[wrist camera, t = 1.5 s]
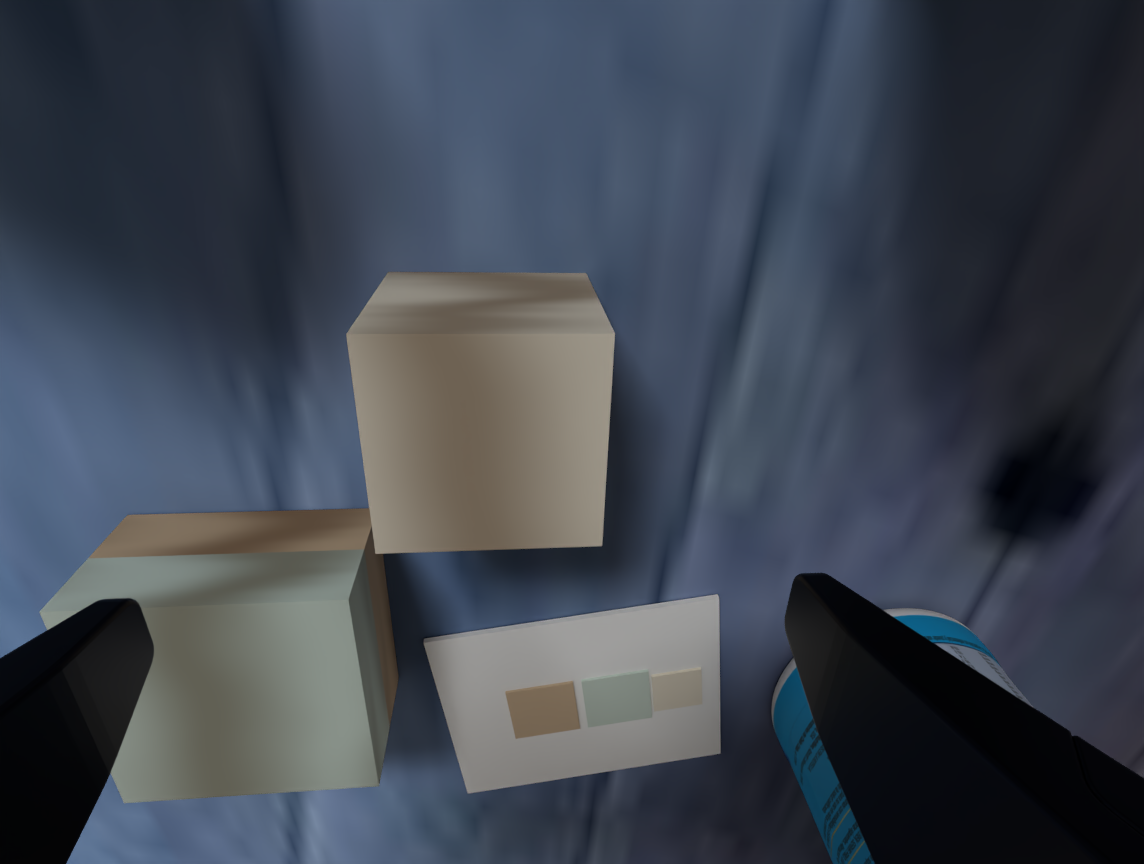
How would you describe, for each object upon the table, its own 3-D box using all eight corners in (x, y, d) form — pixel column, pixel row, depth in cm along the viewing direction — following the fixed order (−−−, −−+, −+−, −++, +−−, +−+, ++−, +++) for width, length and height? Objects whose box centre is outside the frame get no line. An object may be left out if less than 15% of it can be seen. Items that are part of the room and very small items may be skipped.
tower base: (376, 508, 19) (348, 599, 16) (398, 678, 23) (379, 786, 19) (127, 514, 19) (39, 611, 15) (186, 689, 22) (124, 803, 18)
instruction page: (717, 594, 22) (720, 600, 22) (719, 748, 26) (721, 755, 26) (424, 638, 22) (423, 645, 22) (468, 789, 26) (467, 796, 25)
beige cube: (585, 272, 17) (614, 333, 12) (579, 443, 19) (602, 546, 15) (388, 271, 16) (346, 334, 12) (406, 446, 19) (375, 553, 14)
